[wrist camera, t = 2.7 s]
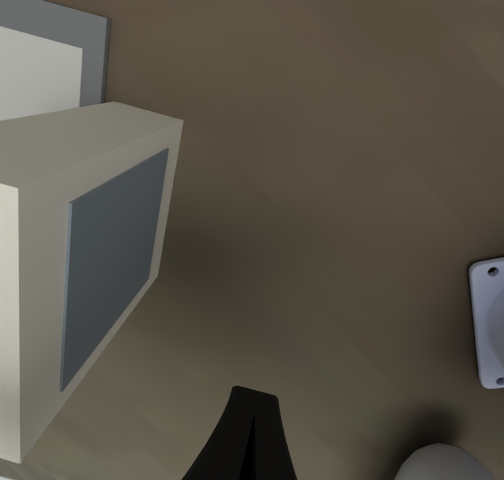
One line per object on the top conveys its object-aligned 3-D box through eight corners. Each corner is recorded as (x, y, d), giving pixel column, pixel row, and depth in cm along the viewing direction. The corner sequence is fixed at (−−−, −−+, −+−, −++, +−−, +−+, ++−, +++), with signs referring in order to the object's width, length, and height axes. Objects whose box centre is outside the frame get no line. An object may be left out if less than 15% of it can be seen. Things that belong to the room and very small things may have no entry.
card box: (185, 120, 19) (22, 189, 8) (159, 276, 23) (23, 465, 12) (114, 101, 19) (-140, 144, 8) (100, 259, 23) (-89, 431, 12)
